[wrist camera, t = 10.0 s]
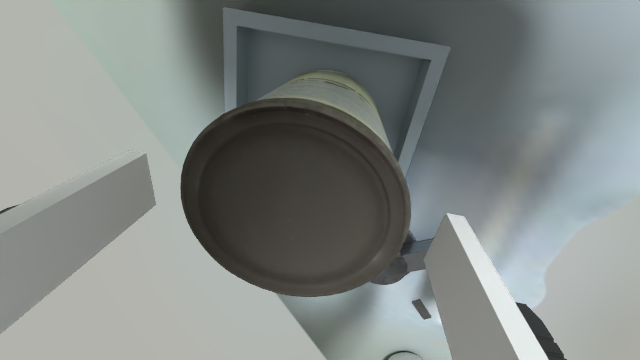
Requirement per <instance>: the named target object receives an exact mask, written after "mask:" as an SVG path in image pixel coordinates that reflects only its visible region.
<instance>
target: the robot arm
mask: <svg viewBox="0 0 640 360" xmlns="http://www.w3.org/2000/svg"><path fill="white" fill-rule="evenodd" d="M155 205H156V202H155V197H154V191H153V186H152V182H151V176H150V171H149V165H148V161H147V155H146V153H142V152H137V151H132V150H128V151H126V152H124V153H122V154H120V155H118V156H116V157H114V158H112V159H110V160H108V161H106V162H104V163H102V164H100V165H98V166H96V167H94V168H92V169H90V170H88V171H86V172H84V173H82V174H80V175H78V176H76V177H74V178H72V179H70V180H68V181H66V182H64V183H62V184H60V185H58V186H56V187H54V188H52V189H50V190H48V191H46V192H44V193H42V194H40V195H38V196H36V197H34V198H32V199H30V200H28V201H26V202H24V203H22V204H19V205H16V206H13V207H10V208H6V209H4V210H2V211H0V334H1V333H2V332H3V331H5V330H6V329H7V328H8V327H9V326H11V325H12V324H13V323H14V322H15V321H17V320H18V319H19V318H20V317H21V316H23V315H24V314H25V313H26V312H27V311H29V310H30V309H31V308H32V307H33V306H35V305H36V304H37V303H38V302H39V301H41V300H42V299H43V298H44V297H45V296H47V295H48V294H49V293H50V292H51V291H52V290H54V289H55V288H56V287H57V286H59V285H60V284H61V283H62V282H63V281H65V280H66V279H67V278H68V277H69V276H71V275H72V274H73V273H74V272H76V271H77V270H78V269H79V268H80V267H81V266H83V265H84V264H85V263H86V262H87V261H88V260H90V259H91V258H92V257H93V256H95V255H96V254H97V253H98V252H100V250H102V249H103V248H104V247H105V246H107V245H108V244H109V243H110V242H111V241H113V240H114V239H115V238H116V237H118V236H119V235H120V234H121V233H122V232H124V231H125V230H126V229H127V228H128V227H129V226H131V225H132V224H133V223H134V222H136V221H137V220H138V219H139V218H140V217H142V216H143V215H144V214H145V213H146V212H148V211H149V210H150V209H151V208H152V207H153V206H155ZM424 263H425V266H426V270H427V273H428V277H429V280H430V284H431V287H432V290H433V294H434V297H435V301H436V304H437V308H438V311H439V314H440V318H441V321H442V325H443V328H444V332H445V335H446V338H447V342H448V345H449V349H450V352H451V356H452V359H453V360H567V359H564V355H563V353H562V351H561V350H560V348H559V347H558V345H557V344H556V343H554V341H553V340H554V339H553V337H552V336H551V334H550V333H549V331H548V330H547V328H546V326H545V325H544V323H543V322H542V320H541V319H539V317H538V316H537V315H536V314H535V313H533V311H532V310H531V309H530V308H529V307H528V306H527V305H526V304H522V303H517V302H515V301H514V300H513V298H512V296H511V295H510V293H509V291H508V290H507V288H506V286H505V284H504V283H503V281H502V279H501V278H500V276H499V274H498V273H497V271H496V269H495V267H494V266H493V264H492V262H491V261H490V259H489V257H488V256H487V254H486V252H485V250H484V249H483V247H482V245H481V244H480V242H479V240H478V239H477V237H476V235H475V233H474V232H473V230H472V228H471V227H470V225H469V223H468V221H467V220H466V218H465V216H460V215H455V214H450V213H446V214H445V216H444V218H443V220H442V222H441V225H440V227H439V229H438V231H437V233H436V235H435V237H434V239H433V241H432V243H431V245H430V247H429V249H428V251H427V253H426V255H425V258H424Z"/></svg>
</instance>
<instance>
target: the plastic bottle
mask: <svg viewBox="0 0 640 360" xmlns="http://www.w3.org/2000/svg"><path fill="white" fill-rule="evenodd" d="M388 360H423V359H422V358H421V357H419V356H418V355H416V354H413V353H407V352H402V353H397V354H394V355H392V356H391V357H390V358H389V359H388Z"/></svg>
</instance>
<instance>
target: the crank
mask: <svg viewBox="0 0 640 360" xmlns="http://www.w3.org/2000/svg"><path fill="white" fill-rule="evenodd" d="M432 241H433V239H430V240H425V241H420V242H415V243H410V244H405V245H403V246H402V248H401V250H400V251H399V253H398V255H397V256H396V257H395V259H394V260H393V261H392V262H391V264H390V265H389V266H388V267H387V268H386V269H385V270H384V271H382V272H381V273H380V274H379V275H377V276H376V277H375V278H373V279H372V280H370V282H372V283H375V284H381V285H387V284H392V283H395V282H398V281H399V280H401V279H402V278H403V277H404V276H405V275H406V273H407V272H412V271H417V270H423V269H426V266H425V263H424V258H425V255H426V253H427V251H428V249H429V247H430V245H431V243H432Z"/></svg>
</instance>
